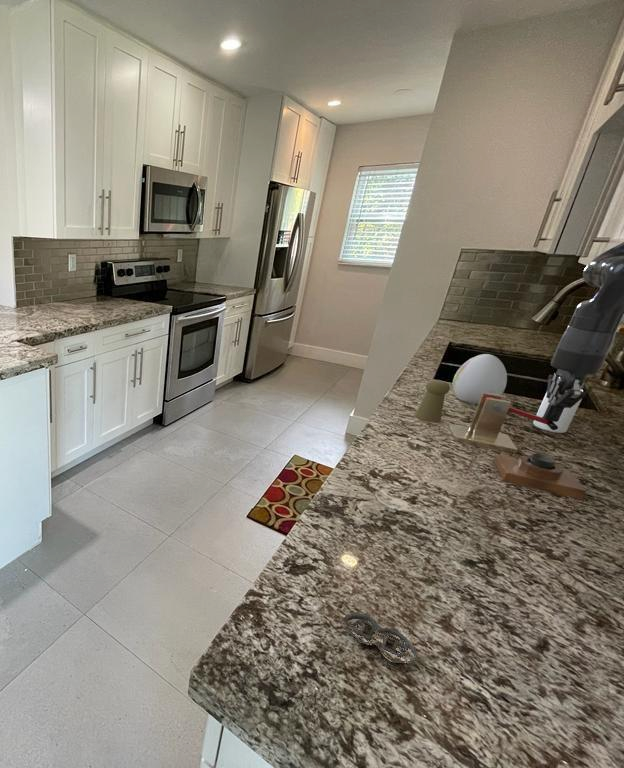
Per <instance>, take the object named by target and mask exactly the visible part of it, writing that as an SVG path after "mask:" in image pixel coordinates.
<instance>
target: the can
mask: <svg viewBox="0 0 624 768" xmlns="http://www.w3.org/2000/svg"><path fill="white" fill-rule="evenodd" d="M580 391H584V390H583V388H581V389H580ZM546 396H547V391H546V393H545V395H544V397H543V399H542V401H541V403H540V406H539V407H538V410H537V413H536V414H535V415H536V416H539V417H543V416H544V414H545V412H546V409H547V407H548V405H549V404H550V403H548V400H549V398H547V397H546ZM582 400H583V398H582V399H581V400H579V401H578V402H577V403H576V404H575V405H574V406H572V407H571V408H564V410H563V412H562V414H561V416H560V418H559V420H558V421H557V422H554V423H555V424H556V425H557V426H558V429H557V430H552V429H551V428H550V427H549V426H548V425H547V424H544V423H541V422H538V421H535V420H533V426H534V427H535V428H537V429H539V430H542V431H545V432H549V433H554V434H564V433H567V431H568V429H569V427H570V426H571V423H572V421H573V419H574V417H575V414H576V413H577V410H578V408H579V406H580V404H581V402H582Z"/></svg>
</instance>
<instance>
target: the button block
mask: <svg viewBox="0 0 624 768" xmlns="http://www.w3.org/2000/svg"><path fill="white" fill-rule="evenodd" d="M531 456H532V455H521V456H520V457H518V458H517V457H512V456H507V455H502V454H497V453H495V455H494V457H493V460H492V464H493V466H494V468H495V469H496V471H497V474H498V475H499V477H500V478H501V480H502V482H505V483H509V484H514V485H517V486H521V487H524V488H530V489H535V490H539V491H543V492H546V493H547V492H548V493H552V494H555V495H558V496H559V495H560V496H564V497H569V498H573V499H577V500H581V501H582V500H583V498H584V496H586V495H585V494H586V493H587V490H586V488H585V487H584V486H583V485H582V484H581V482H579V480H578V479H577V478H576V477H575V475H573V473H572V472H571V471H570V469H568V468H563V467H562V466H560V464H557V463H555V465H554V467H553V469H545V468H541V467H538V466H535V465H533V464H531V463H529V460H530V458H531Z"/></svg>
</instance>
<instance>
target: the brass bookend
mask: <svg viewBox="0 0 624 768" xmlns="http://www.w3.org/2000/svg"><path fill="white" fill-rule="evenodd" d="M489 396H490V397H493V398H496V399H493V398H488V397H489ZM511 405H512V402H511V400H507V396H506V395H503V394H502V395H497V394H491V393H485V392H483V393H482V395H481V398H480V401H479V403H478V405H477V406H476V409H475V412H474V414H473V416H472V419H471V422H470V424H469V426H465V425H462V424H461V425H460V424H455V423H451V422H450V423H448V426H447V429H448V431H449V433H450V435H451V438H452V441H454V442H457V443H462V444H463V443H464V444H468V445H472V446H478V447H482V448H486V449H492V450H497V451H501V452H505V453H506V452H507V453H511V454H517V452H518V450H519V449H518V447H517V446H516V445H515V443H514V442H513V441H512V439H511V438H510V436H509V434H507V433H501V429H502V426H503V424H504V421H505V419H506V417H507V414H508V413H509V411H508V409H509V407H511Z"/></svg>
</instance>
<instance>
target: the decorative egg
mask: <svg viewBox="0 0 624 768" xmlns="http://www.w3.org/2000/svg"><path fill="white" fill-rule="evenodd" d="M507 383H508V375H507V369H506V367H505V365H504V363H503V362H502V361H501V359H499V358H498V357H497V356H495V355H493V354H490V353H483V354H478V355H476V356H474V357H471V358H469V359H468V360H466V361H465V362H464V363H463V364H462V365H461V366H460V367H459V368H458V369H457V370H456V373H455V374H454V375H453V379H452V392H453V394H454V396H455V397H456V399H458V400H460V401H462V402H464V403H468V404H472V405H477V406H478V403H479V401H480V398H481V395H482V393H483V392H485V393H491V394H497V395H503V394H504V392H505V389H506V388H507Z"/></svg>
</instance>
